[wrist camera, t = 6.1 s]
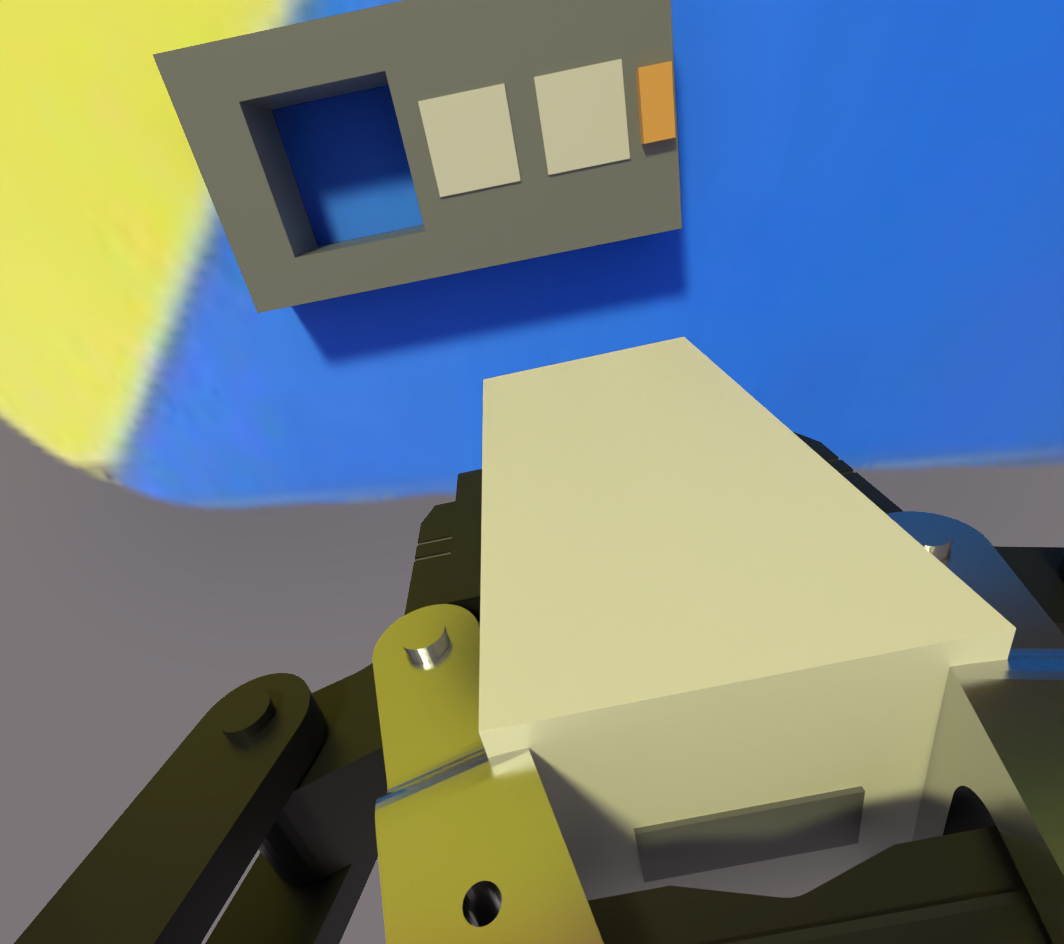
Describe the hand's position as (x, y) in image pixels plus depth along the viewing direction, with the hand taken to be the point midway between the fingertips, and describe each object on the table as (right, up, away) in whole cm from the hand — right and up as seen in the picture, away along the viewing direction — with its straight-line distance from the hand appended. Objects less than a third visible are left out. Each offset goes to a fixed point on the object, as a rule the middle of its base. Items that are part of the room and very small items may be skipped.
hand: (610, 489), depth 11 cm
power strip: (-5, +14, +14) cm, 21 cm away
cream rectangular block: (0, +1, +2) cm, 2 cm away
